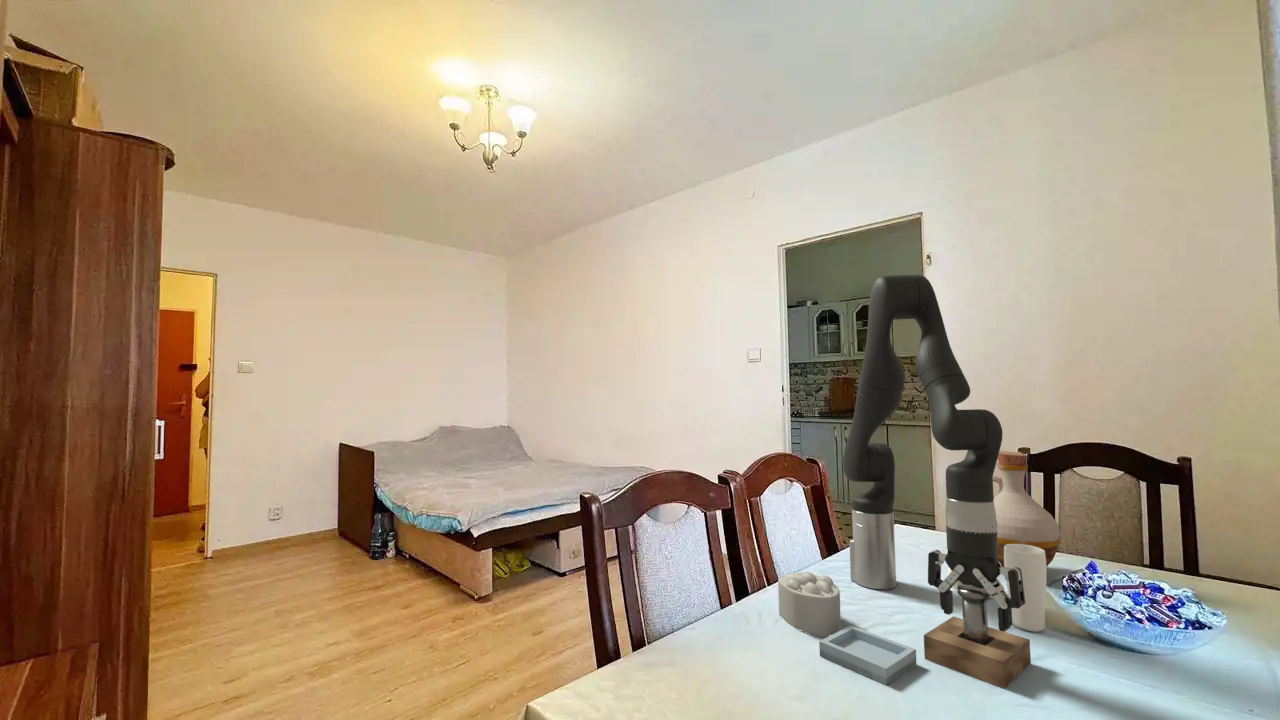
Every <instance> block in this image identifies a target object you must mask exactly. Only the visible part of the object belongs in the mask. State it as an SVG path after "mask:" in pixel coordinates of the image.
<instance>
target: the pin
mask: <svg viewBox="0 0 1280 720" xmlns="http://www.w3.org/2000/svg"><path fill="white" fill-rule="evenodd" d="M957 595H958V596H960V597H961V601H962V602H961V604H962V605H961V606H962V619H963V628H964V639H966V640H969V641H972V642H976V643H979V644H982V645H985V646H986V645H987V644H988V643H989V638H988V627H989V621H988V601H990V600H991V599H992V598H991V595H990V594H989V593H988V592H987V590H986V589H985V588H982V589H980V588H976V587H974V586H972V585H965V584H963V585H959V586H958V592H957Z"/></svg>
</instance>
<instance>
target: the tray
mask: <svg viewBox="0 0 1280 720" xmlns="http://www.w3.org/2000/svg"><path fill="white" fill-rule="evenodd" d="M818 644H819V656H820V657H821V658H823V659H826V660H828V661H830V660H831V662H833V663H835V664H837V665H839V664H840V665H839V666H842V667H844V668H846V669H848V670H851V671H853V672H856V673H858V674H860V675H863V676H865V677H867V678H870V679H871V680H875V681H877V682H879V683H881V684H884V685H886V686H887V685H889V684H890V683H892V682H894V681H896V680H897V679H898V678H899V677H901V676H902V675H904V674H905V673H906V672H908V671H909V670H911V669H912V668H914V667H915V666H916V665H917V649H916V648H914V647H911V646H908V645H905V644H902V643H900V642H898V641H894V640H893V639H889V638H887V637H884V636H881V635H878V634H875V633H872V632H870V631H867V630H865V629H861V628H859V627H856V626H853V625H848V626H846V627H845V628H843V629H842V628H841V630H840V631H838V632H837V633H835V634H833V635H831V636H826V637H825V638H823V639H821V640H819V643H818Z"/></svg>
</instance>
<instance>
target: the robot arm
mask: <svg viewBox="0 0 1280 720" xmlns="http://www.w3.org/2000/svg"><path fill="white" fill-rule="evenodd" d="M868 307H869V308H868V320H867V333H866V342H865V348H864V349H865V350H864V353H863V360H862V365H861V370H860V374H859V380H858V387H857V393H856V401H855V407H854V412H853V417H852V423H851V425H850V429H849V430H850V431H849V433H848V436H847V440H846V443H845V448H844V451H843V452H844V454H843V457H842V459H843V461H842V466H843V473H844V476H845V477H846V478H847V480H849V481H851V482H856V483H872V486H871V487H869V489H867V490H865V491H864V492H861V493H859V494H856V495H854V496H853V497H852V499H851V516H852V517H851V518H852V522H851V523H852V539H850V540H849V566H850V568H849V569H850V581H852V582H855V583H856V584H857V585H859V586H862V587H864V588H865V587H866V588H870V589H876V590H889V589H890V590H891V589H894V588H895V587H897V572H896V567H897V566H896V565H897V564H896V545H895V544H896V541H895V538H896V537H895V522H894V521H895V518H894V515H895V514H894V503H895V496H896V495H895V482H896V481H895V479H896V478H895V477H896V474H895V473H896V463H895V455H894V452H893V449H892V448H891V447H890V446H889V445H888V444H887V443H881V442H877V443H876V442H873V443H872V442H870V441H871V438H872V436H873V435H874V433H875V432H876V431H877V429H879V428H880V427H881V425H883V424H884V423H885V422H886V421H887V420H888V419H889V418H890V417H891V416H892V414H894V412H895V411H896V410H897V408H898V407H899V405H900V403H901V400H902V396H903V391H904V387H905V381H906V374H905V370H904V368H903V365H902V363H901V361H900V359H899V356H898V355H897V353H896V351H895V350H894V348H893V345H892V341H891V328H892V323H893V322H894V320H897V321H898V320H915V321H916V323H917V324H918V326H919V328H920V332H921V335H920V342H919V344H918V348H917V352H916V355H915V370H916V373H917V375H918V378H919V382H920V383H921V385H922V387H923V389H924V392H925V394H926V396H927V399H928V408H929V415H930V417H929V418H930V429H931V434H932V436H933V438H934V440H935V442H937V444H938V445H939V446H941V447H942V448H943V449H945V450H948V451H967V452H966V454H965V457H964V459H963V460H961V461H959V462H955V463H952V464H950V465H948V466H946V469H945V489H946V492H945V493H946V501H945V530H946V549H947V553H943V552H941V551H940V550H939V549H935V550H933V551H930V552H928V555H927V556H928V557H927V558H928V559H927V560H928V561H927V583H928V585H930V586H931V587H935V588H937V589H938V591H939V603H940V604H939V605H940V608H941V610H943V614H944V615H948V616H949V615H951V614H953V612H954V597H953V596H954V595H953V590H951V589H953V588H952V587H953V586H954V585H955V583H956V582H958V581H960V582H961V584H965V585H972V586H974V587H976V588H980V589H982V588H985V589H986V590H987V592H988V593H989V594H990V595H991V596H992V597H993V598H992V599H994V601H996V603H997V605H998V608H997V616H998V619H997V620H998V630H1000V631H1004V632H1007V631H1008V630H1009V629H1010V628H1011V627H1012V625H1013V623H1012V608H1016V609H1018V608H1020V607H1021V606H1022V605H1024V604H1025V595H1024V587H1023V579H1022V571H1021V569H1020V568H1018V567H1014V568H1008V567H1001V565H1000V563H999V561H998V540H997V527H998V524H997V520H996V511H995V506H994V501H993V500H994V496H995V495H994V481H993V476H994V473H995V469H996V467H997V464H996V463H998V462H997V461H998V455H999V451H1001V446H1002V444H1003V443H1002V442H1003V428H1002V424H1001V421H1000V420H999V419H998V417H997V415H995V414H994V412H992V411H990V410H987V409H958V408H957V407H956V405H958V404H960V403H963V402H965V401H966V400H967V399H968V398H969V397H970V395H971V387H970V385H969V384H970V383H969V382H968V380H967V378H966V376H965V374H964V372H963V371H962V369H961V367H960V365H959V362H958V361H957V359H956V357H955V354H954V352H953V349H952V347H951V345H950V341H949V338H948V334H947V331H946V326H945V323H944V320H943V316H942V313H941V309H940V306H939V302H938V299H937V295H936V293H935V290H934V288H933V286H932V283H931V282H930V280H929V279H928V278H927V277H926V276H924V275H920V274H899V275H898V274H897V275H896V274H895V275H884V276H879V277H878V278H877V279H875V282H874V283H873V285H872V289H871V292H870V298H869V305H868ZM869 442H870V443H869ZM944 563H946V564H947V567H948V568H950V569H951V571H952V572H951V573H950V574H949V575H948V574H947V576H946V577H945V578H944V580H943V579H942V575H941V574H942V565H944ZM1000 575H1003V577H1004V579H1005V581H1006V582H1007V581H1008V582H1009V587H1010V596H1011V598H1010V597H1009V595H1008V592H1007V591H1006V590H1005V587H1004V585H1003V584H1002V583H1001V582H1000V580H999V579H998V577H1000Z"/></svg>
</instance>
